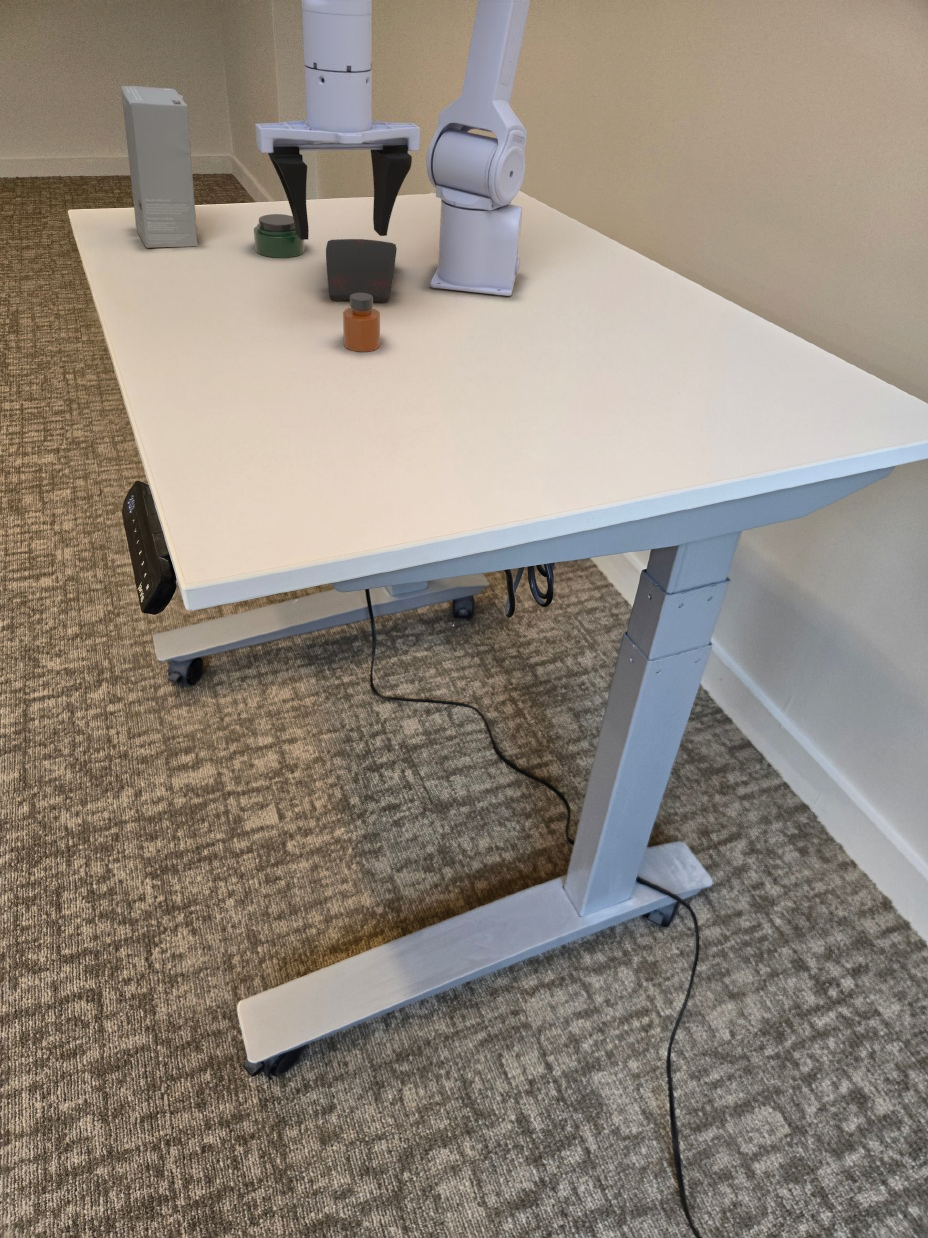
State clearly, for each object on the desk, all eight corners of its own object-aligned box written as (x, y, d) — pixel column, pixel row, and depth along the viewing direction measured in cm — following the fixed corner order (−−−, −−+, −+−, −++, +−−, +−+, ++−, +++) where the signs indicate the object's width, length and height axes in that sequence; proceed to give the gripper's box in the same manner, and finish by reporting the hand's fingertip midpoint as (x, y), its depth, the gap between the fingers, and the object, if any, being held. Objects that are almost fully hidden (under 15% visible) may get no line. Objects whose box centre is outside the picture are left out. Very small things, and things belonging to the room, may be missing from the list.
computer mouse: (396, 263, 106) (396, 229, 104) (395, 304, 96) (396, 266, 93) (329, 260, 106) (328, 225, 103) (322, 300, 95) (320, 263, 93)
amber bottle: (383, 339, 88) (383, 291, 85) (375, 353, 85) (376, 304, 82) (348, 335, 88) (347, 288, 85) (339, 349, 85) (338, 300, 82)
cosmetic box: (135, 229, 110) (111, 84, 100) (193, 226, 112) (175, 84, 102) (145, 250, 104) (120, 98, 94) (205, 246, 107) (188, 98, 96)
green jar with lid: (310, 245, 110) (308, 215, 107) (297, 260, 105) (295, 228, 103) (263, 240, 110) (261, 210, 108) (248, 254, 105) (245, 223, 103)
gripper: (263, 73, 69) (275, 251, 77) (434, 76, 74) (427, 243, 82) (245, 59, 74) (258, 228, 82) (406, 62, 79) (403, 222, 87)
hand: (341, 234), depth 83 cm, fingers open, 7 cm apart
